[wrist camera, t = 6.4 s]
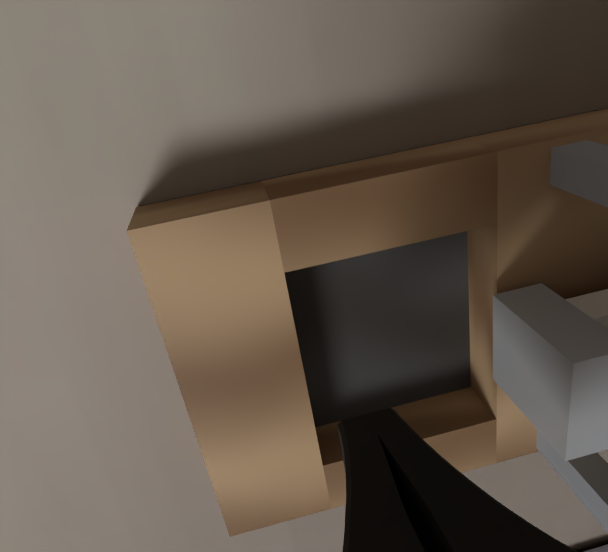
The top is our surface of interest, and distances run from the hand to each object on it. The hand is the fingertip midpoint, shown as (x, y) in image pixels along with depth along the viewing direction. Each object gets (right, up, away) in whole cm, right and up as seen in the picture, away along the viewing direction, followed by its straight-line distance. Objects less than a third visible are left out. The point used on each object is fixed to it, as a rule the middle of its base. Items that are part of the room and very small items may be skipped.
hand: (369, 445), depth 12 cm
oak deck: (+9, +4, +6) cm, 12 cm away
